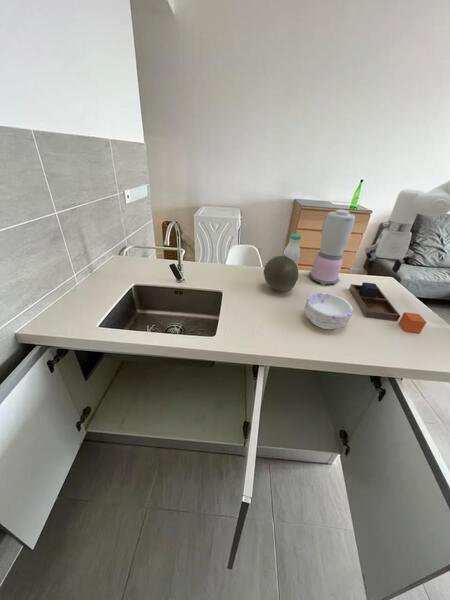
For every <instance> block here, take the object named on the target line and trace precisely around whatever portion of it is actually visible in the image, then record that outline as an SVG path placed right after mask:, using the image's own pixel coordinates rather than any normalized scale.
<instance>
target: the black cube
mask: <svg viewBox="0 0 450 600" xmlns="http://www.w3.org/2000/svg"><path fill="white" fill-rule="evenodd" d="M361 285H362V286H361V289H360V291H359V293H360V294H361V296H363V297H371V298H376V296H377V294H378V291H379V289H380V287H379V286H378V285H377V284H376V283H374V282H373V283H372V282H365V281H363V282H362V284H361Z"/></svg>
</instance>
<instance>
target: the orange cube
mask: <svg viewBox="0 0 450 600" xmlns="http://www.w3.org/2000/svg"><path fill="white" fill-rule="evenodd" d="M400 317H401V318H399V320H398V325H399V326H400V327H401V329H402V330H403V331H404V332H405V333H412V334H421V332H422V331H423V329H424V328H425V326H426V324H427V321H426V319H424V318H423V316H422V315H421V314H420V313H416V312H407V311H404V312H403V314H402V315H401V316H400Z"/></svg>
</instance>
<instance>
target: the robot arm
mask: <svg viewBox="0 0 450 600" xmlns="http://www.w3.org/2000/svg"><path fill="white" fill-rule="evenodd" d="M448 213H450V180H448V181H445V182H444V183H442V184H440V185H438V186H436V187H434V188H432V189H431V190H428V191H427V192H425V191H424V190H420V189H409V188H408V189H407V188H406V189H401V191H399V193H398V195H397V197H396V200H395V203H394V206H393V208H392V210H391V214H390V216H389V219H388V220H387V221H386V222H383V224H382V226H383V227H385V228H383V229H382V231H381V233H380V234H379V236H378V238H377V240H376V242H375V244H372V245H369V246H366V247H364V254H365V256H366V258H367V262H366V264H365V267H366V269H367V270H368V271H371V270H372V268H373V266H374V263H375V262H374V260H375V259H377V258H380V259H388V260H389V259H391V260H395V261H394V263H393V265H392V268H391V271H392V272H393V273H395V274H397V273H398V271H400V269H401V266H402V264H404V263H405V262H407V261H409V260H410V258H412V256H414V255H415V252H414V251H412V250H411V249H409V246H410V243H411V240H412V236H413V235H412V234H413V233H412V232H411V229H412V228H413V225H414V223H415V220H416V218H417V216H418V215H420V216H425V217H430V218H439V217H442V216H445V215H447V214H448ZM370 251H372V253H370Z"/></svg>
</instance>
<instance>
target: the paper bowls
mask: <svg viewBox="0 0 450 600" xmlns="http://www.w3.org/2000/svg"><path fill="white" fill-rule="evenodd" d="M303 312H304V315H305V316H306V318H307V319H308V320H309V321H310V322H311V323H312V324H313V325H314V326H316V327H317V328H320V329H324V330H335V329H338V328H344V327H345V326H347V325H348V324H349V322H350V320H351V318H352V315H353V313H354V308H353V306H352V304H351V303H350V302H349V301H347V300H346V299H344V298H343V297H341V296H339V295H336V294H333V293H328V292H314V293H312V294H311V293H310V295H308V297H307V298H306V301H305V305H304V309H303Z"/></svg>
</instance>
